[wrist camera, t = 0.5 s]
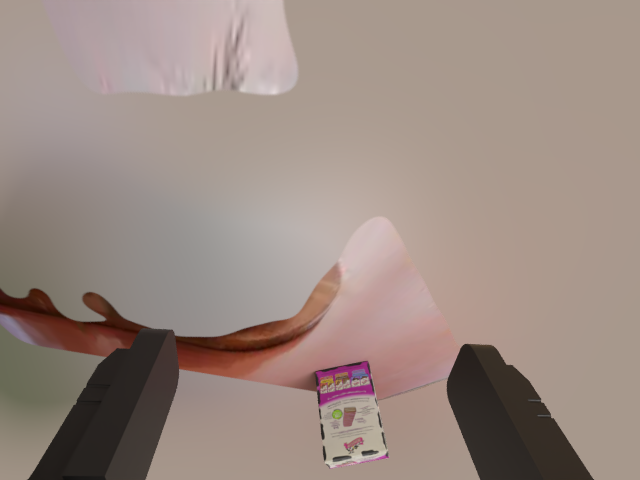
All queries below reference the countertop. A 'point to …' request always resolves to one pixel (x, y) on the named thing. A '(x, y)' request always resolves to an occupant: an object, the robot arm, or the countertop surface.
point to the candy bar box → (349, 416)
